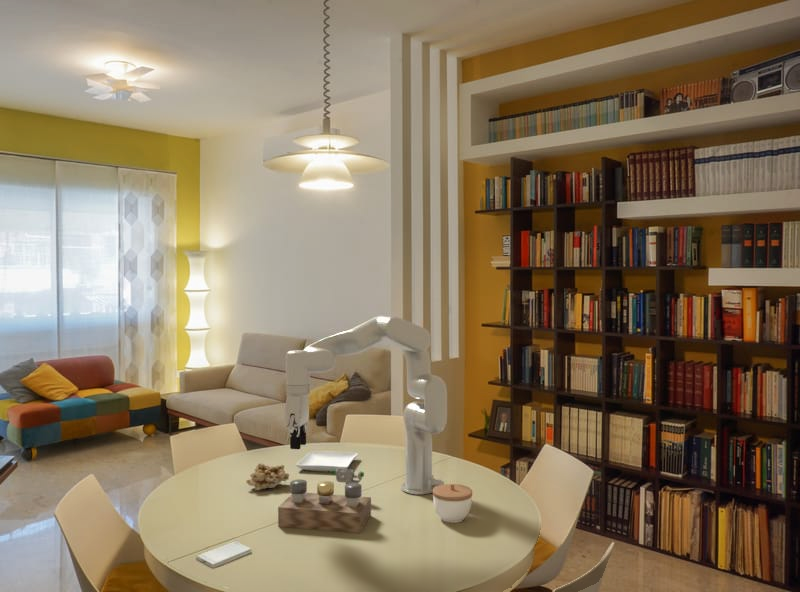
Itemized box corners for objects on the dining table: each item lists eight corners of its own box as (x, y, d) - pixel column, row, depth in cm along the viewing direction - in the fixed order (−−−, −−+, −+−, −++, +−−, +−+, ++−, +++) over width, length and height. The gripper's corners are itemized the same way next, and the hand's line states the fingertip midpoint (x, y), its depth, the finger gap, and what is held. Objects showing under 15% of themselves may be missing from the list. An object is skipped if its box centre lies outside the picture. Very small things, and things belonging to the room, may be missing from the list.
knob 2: (363, 508, 199) (363, 483, 199) (359, 514, 194) (359, 489, 194) (347, 507, 200) (347, 482, 200) (342, 513, 195) (342, 488, 195)
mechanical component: (362, 501, 216) (362, 473, 215) (333, 499, 218) (333, 471, 217) (364, 498, 219) (364, 470, 218) (336, 496, 221) (336, 468, 220)
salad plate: (310, 457, 269) (310, 449, 269) (358, 459, 266) (358, 451, 266) (295, 473, 248) (294, 464, 248) (347, 475, 245) (347, 466, 245)
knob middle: (335, 506, 201) (335, 481, 201) (331, 512, 196) (330, 487, 195) (320, 505, 202) (320, 480, 202) (315, 511, 197) (314, 486, 196)
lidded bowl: (445, 529, 193) (446, 493, 192) (425, 515, 204) (425, 481, 204) (480, 521, 198) (480, 487, 198) (458, 508, 210) (458, 475, 209)
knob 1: (309, 504, 203) (308, 480, 202) (303, 510, 197) (303, 485, 197) (293, 503, 204) (293, 478, 203) (287, 509, 198) (287, 484, 198)
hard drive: (234, 540, 182) (195, 555, 172) (251, 548, 176) (212, 563, 167) (234, 546, 182) (195, 561, 172) (251, 554, 176) (212, 569, 167)
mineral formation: (257, 479, 239) (295, 478, 237) (245, 497, 226) (285, 496, 224) (254, 459, 237) (293, 458, 236) (242, 476, 224) (283, 475, 223)
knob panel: (370, 515, 203) (370, 497, 203) (359, 533, 190) (359, 513, 189) (294, 509, 208) (294, 491, 208) (278, 526, 195) (278, 507, 194)
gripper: (296, 384, 208) (296, 439, 209) (276, 393, 192) (276, 453, 192) (317, 385, 207) (318, 440, 207) (300, 394, 190) (300, 454, 191)
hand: (298, 446), depth 200 cm, fingers open, 4 cm apart
